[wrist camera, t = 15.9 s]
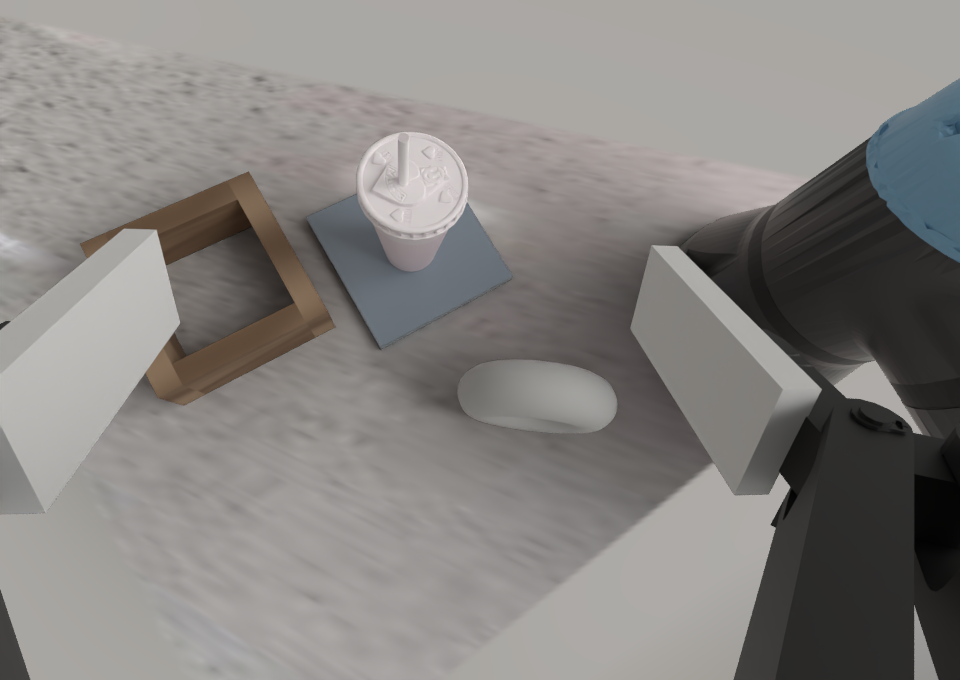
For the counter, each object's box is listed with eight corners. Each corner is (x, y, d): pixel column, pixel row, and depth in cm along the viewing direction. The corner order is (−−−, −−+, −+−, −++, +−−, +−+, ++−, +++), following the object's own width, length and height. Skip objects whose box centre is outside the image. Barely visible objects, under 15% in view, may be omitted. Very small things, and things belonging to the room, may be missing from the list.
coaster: (510, 279, 41) (512, 276, 41) (381, 349, 39) (380, 347, 38) (437, 162, 43) (438, 156, 42) (307, 222, 40) (306, 217, 40)
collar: (335, 327, 39) (327, 311, 35) (183, 405, 36) (157, 398, 32) (263, 199, 40) (248, 171, 36) (112, 266, 38) (79, 243, 34)
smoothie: (354, 219, 40) (330, 92, 26) (438, 198, 41) (455, 66, 28) (381, 300, 39) (369, 209, 25) (466, 275, 40) (498, 177, 27)
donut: (588, 393, 40) (646, 369, 31) (585, 440, 39) (644, 431, 30) (453, 374, 39) (470, 343, 30) (447, 422, 38) (462, 407, 29)
